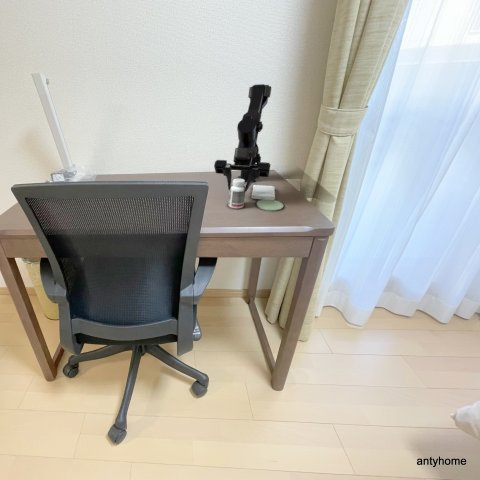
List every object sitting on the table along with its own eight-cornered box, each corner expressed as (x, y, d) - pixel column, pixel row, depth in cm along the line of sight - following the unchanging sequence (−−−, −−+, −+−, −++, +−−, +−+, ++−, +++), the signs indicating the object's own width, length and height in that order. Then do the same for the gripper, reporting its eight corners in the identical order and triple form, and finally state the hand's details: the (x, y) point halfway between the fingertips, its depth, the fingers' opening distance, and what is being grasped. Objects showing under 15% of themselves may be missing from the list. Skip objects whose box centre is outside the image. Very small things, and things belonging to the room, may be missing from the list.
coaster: (254, 200, 97) (254, 199, 97) (278, 200, 96) (279, 199, 96) (259, 211, 90) (259, 209, 89) (286, 210, 89) (286, 209, 89)
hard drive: (273, 190, 105) (274, 200, 95) (252, 188, 108) (251, 198, 98) (274, 186, 104) (275, 196, 94) (253, 184, 107) (251, 194, 97)
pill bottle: (246, 206, 94) (250, 180, 88) (236, 210, 91) (239, 184, 86) (235, 201, 97) (238, 176, 92) (225, 205, 95) (227, 180, 90)
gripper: (217, 136, 88) (207, 177, 86) (275, 137, 82) (266, 182, 79) (220, 153, 99) (211, 191, 96) (272, 156, 92) (264, 196, 89)
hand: (237, 190), depth 90 cm, fingers closed on pill bottle, 5 cm apart
